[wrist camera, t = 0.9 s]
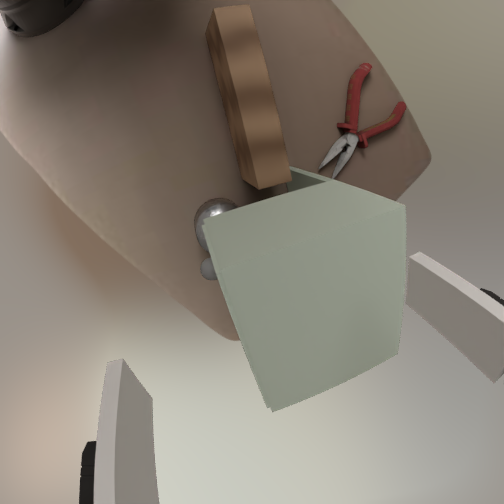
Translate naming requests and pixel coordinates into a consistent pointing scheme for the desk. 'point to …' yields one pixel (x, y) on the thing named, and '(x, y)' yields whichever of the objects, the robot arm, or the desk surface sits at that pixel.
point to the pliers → (351, 122)
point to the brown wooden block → (247, 96)
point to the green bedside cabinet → (311, 283)
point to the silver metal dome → (209, 210)
